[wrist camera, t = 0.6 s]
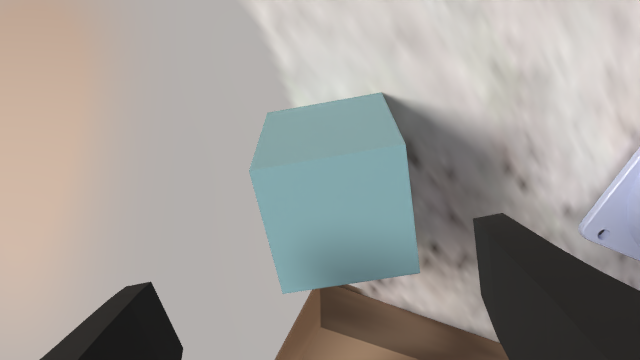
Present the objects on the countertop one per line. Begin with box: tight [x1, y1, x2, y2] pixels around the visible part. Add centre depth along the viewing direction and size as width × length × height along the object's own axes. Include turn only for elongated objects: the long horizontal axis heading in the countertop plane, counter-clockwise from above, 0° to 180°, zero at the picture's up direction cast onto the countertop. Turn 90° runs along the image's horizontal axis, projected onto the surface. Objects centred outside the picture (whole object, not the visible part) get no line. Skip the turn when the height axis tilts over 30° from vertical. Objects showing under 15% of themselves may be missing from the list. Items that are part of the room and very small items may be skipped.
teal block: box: [249, 93, 420, 294], centre depth 17 cm, size 4×4×6 cm
